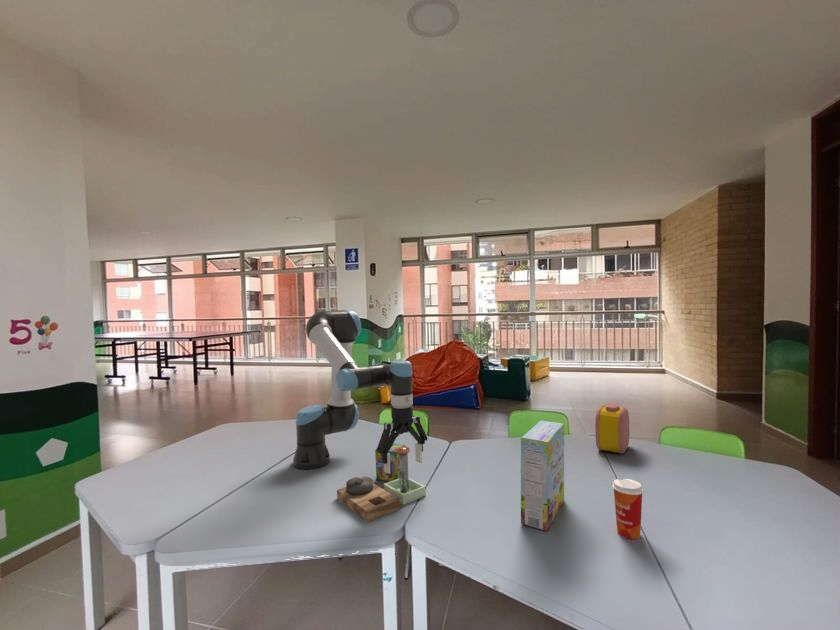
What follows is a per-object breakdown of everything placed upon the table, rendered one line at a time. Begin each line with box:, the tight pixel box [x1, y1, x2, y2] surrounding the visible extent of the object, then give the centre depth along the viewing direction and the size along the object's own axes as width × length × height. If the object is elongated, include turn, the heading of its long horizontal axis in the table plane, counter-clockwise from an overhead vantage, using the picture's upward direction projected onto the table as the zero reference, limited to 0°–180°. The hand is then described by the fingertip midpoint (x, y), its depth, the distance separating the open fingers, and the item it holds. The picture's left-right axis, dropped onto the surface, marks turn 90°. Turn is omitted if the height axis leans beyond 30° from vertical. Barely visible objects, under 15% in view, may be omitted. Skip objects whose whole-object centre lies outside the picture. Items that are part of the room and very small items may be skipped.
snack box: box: [520, 420, 565, 532], centre depth 122 cm, size 22×9×26 cm, turn 148°
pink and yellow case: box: [594, 402, 630, 455], centre depth 174 cm, size 18×11×19 cm, turn 144°
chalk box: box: [374, 442, 406, 482], centre depth 151 cm, size 9×9×15 cm
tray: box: [383, 477, 427, 505], centre depth 136 cm, size 12×10×3 cm
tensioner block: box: [336, 475, 401, 523], centre depth 130 cm, size 20×12×7 cm, turn 39°
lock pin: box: [396, 445, 410, 494], centre depth 136 cm, size 4×4×15 cm
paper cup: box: [612, 478, 645, 540], centre depth 109 cm, size 8×8×14 cm
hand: (403, 466), depth 136 cm, fingers open, 13 cm apart
